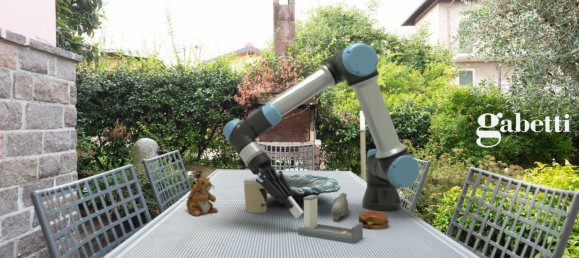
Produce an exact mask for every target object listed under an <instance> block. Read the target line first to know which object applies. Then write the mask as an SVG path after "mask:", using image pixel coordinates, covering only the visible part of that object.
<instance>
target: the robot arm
mask: <svg viewBox="0 0 579 258" xmlns="http://www.w3.org/2000/svg"><path fill="white" fill-rule="evenodd" d="M378 64H379V57H378V54H377V52H376V50H375V49H374V48H373V47H372V46H371V45H370V44H367V43H364V42H357V43H352V44H350V45H347V46H346V47H344V48H343V49H340V50H338V51H337V52H336V53H335V54H333V55H332V56H331V58H329V59H328V60H326V61H325V62H324V63H321V64H320V65H319V66H318V68H319V69H317V70H316V71H314V72H313V73H311V74H309V75H308V76H306V77H305V78H303V79H302V80H300V81H299V82H297V83H296V84H294V85H292V86H291V87H289V88H287V89H286V90H284V91H283V92H281V93H279V94H278V95H276V96H275V97H274V98H272V99H270V100H269V101H266V103H264V104H263V105H261V106H259V107H258V108H255V109H253V110H252V111H251V112H249V114H248V115H247V118H246V119H244V120H243V121H242V120H241V119H239V118H235V119H233V120H230V121H228V122H227V123H226V124H225V126H224V127H223V130H222V133H223V136H224V137H225V138H226V140H227V142H228V143H229V144H230V146H231V147H232V148H233V149H234V151H235V152H236V153H237V155H238V156H239V157H240V159H242V162H243V163H245V165H246V166H247V168H248V169H249V171H250V172H251V173H252V174H253V175H255V176H256V175H257V177H256V178H257V179H256V181H257V182H258V183H259V184H261V185H262V186H263V187H264V188H265V189H266V190H267V191H268V192H267V193H268V194H269V195H270V196H271V197H273V198H274V200H275V201H277V202H278V203H279V204H284V205H285V207H286V208H287V209H288V210H289V212H291V214H292V216H294V219H299V218H300V217H301V216H302V214H303V215H304V210H303V209H302V208H301V207H300V205H299V204H298V203H297V202H296V200H295V198H293V196H294V191H293V189H292V188H291V186H290V184H289V183H288V181H287V179H286V178H285V176H284V172H283V171H282V170H279V171H277V169H276V168H275V167H273V166H272V159H271V157H270V156H269V155H268V154H267V153H266V152H265V150H264V148H263V147H262V146H261V145H260V143H259V142H258V141H257V139H259V138H260V137H261V136H262V135H264V134H265V133H266V132H268V131H270V130H271V129H273V128H274V127H276V126H277V124H279V123H280V122H281V121H282V117H284V116H285V115H287V114H288V113H290V112H292V111H293V110H294V109H296V108H298V107H300V106H301V105H303V104H304V103H306V102H307V101H309V100H310V99H312V98H314V97H315V96H316V95H318V94H319V93H322V92H323V91H324V90H326V89H328V88H329V87H331V88H334V87H335V86H338V84H340V83H343V82H346V85H347V87H348V88H349V89H352V90H353V91H354V93H355V96H356V99H357V101H358V103H359V105H360V109H361V111H362V114H363V116H364V119H365V123H366V124H367V127H368V130H369V132H370V134H371V137H372V141H373V142H374V145H375V147H376V148H372V149H369V150H368V151H367V153H366V154H367V155H366V189H365V192H364V195H363V197H362V200H361V201H362V202H361V206H362V207H363V208H364V209H368V210H371V211H383V212H384V211H385V212H386V211H387V212H388V211H397V210H401V208H402V201H401V197H400V194H399V190H398V188H407V187H409V186H412V185H413V184H414V183H415V182H416V181H417V179H418V176H419V175H420V164H419V163H418V161H417V159H416V158H415V157H414V156H412V155H410V152H409V149H408V147H407V145H406V144H405V143H402V142H401V141H400V139H399V136H398V133H397V130H396V129H395V126H394V123H393V120H392V117H391V114H390V113H389V111H388V107H387V104H386V102H385V99H384V96H383V93H382V91H381V89H380V85H379V84H378V78H379V77H380V74H379V71H378V69H377V66H378Z"/></svg>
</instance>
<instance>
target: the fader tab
mask: <svg viewBox="0 0 579 258" xmlns="http://www.w3.org/2000/svg"><path fill="white" fill-rule="evenodd" d="M318 196H319V195H316V194H310V195H307V196H305V197H303V212H304V213H303V227H305V228H311V229H313V228H315V227H317V224H318V198H319V197H318Z"/></svg>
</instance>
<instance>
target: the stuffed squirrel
mask: <svg viewBox="0 0 579 258" xmlns="http://www.w3.org/2000/svg"><path fill="white" fill-rule="evenodd" d="M193 180H194V182H195V184H193V185H192V187H191V189H190V192H189V194H188V196H187V200H186V204H185V205H186V207H187V208H186V209H187V210H188V211H189V214H190V215H192V216H194V217H199V216H200V215H203V214H207V213H208V214H209V213H211V214H213V213H218V212H219V209H218V208H217V207H214V205H213V203H215V202H216V201H217V197H216V196H215V195H214V194H212V193H210V190H211V189H213V190H214V189H216V188H215V186H214V184H212V182H211V181H210V177H198V178H196V177H195V178H193Z"/></svg>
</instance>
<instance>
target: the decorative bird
mask: <svg viewBox="0 0 579 258" xmlns="http://www.w3.org/2000/svg"><path fill="white" fill-rule="evenodd" d="M348 212H349V213H350V212H351V211H350V210H349V201H348V199H347V193H345V192H341V193H340V194H339V196H338V197H336V198H335V199H334V200H333V203H332V207H331V216H332V218H333V220H334V222H335V221H337V222H338V220H339V218H341V217H344V216H345V215H346V214H347V213H348Z"/></svg>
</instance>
